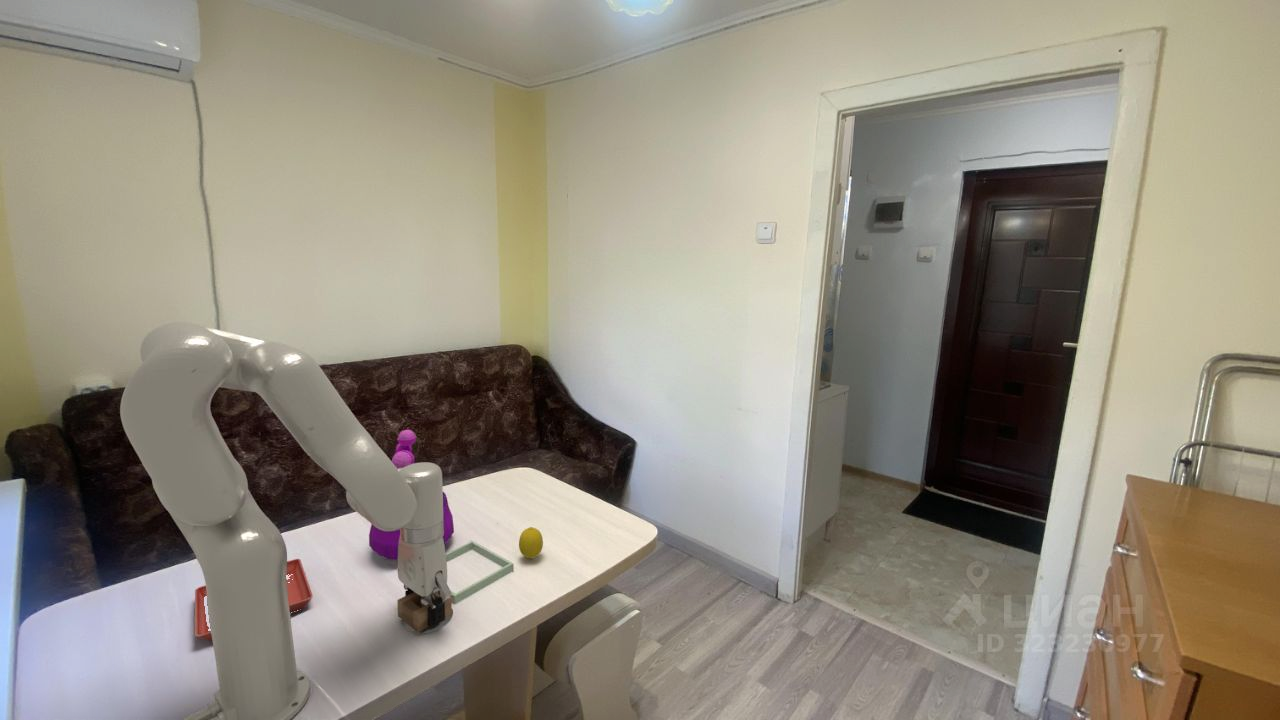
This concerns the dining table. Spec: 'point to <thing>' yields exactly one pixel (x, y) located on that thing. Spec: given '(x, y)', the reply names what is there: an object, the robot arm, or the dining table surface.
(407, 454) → the decorative plant
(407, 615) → the wooden square frame
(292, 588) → the plant saucer
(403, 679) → the dining table surface
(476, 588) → the green rectangular frame
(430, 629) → the peg on round base
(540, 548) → the lemon
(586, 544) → the dining table surface
